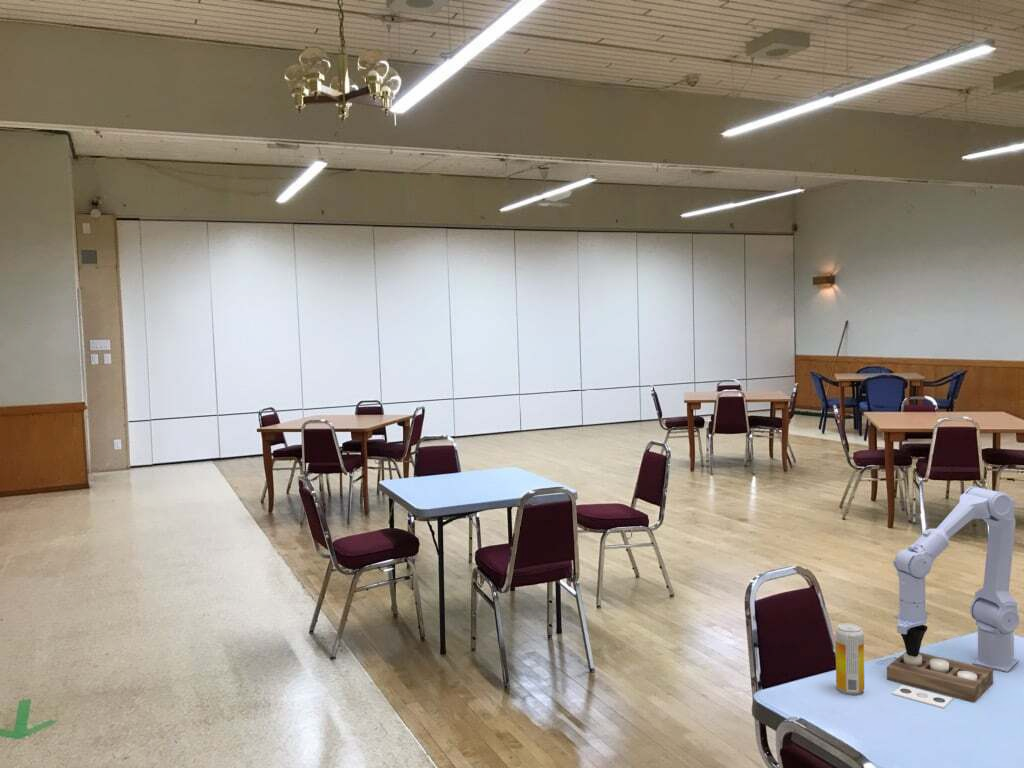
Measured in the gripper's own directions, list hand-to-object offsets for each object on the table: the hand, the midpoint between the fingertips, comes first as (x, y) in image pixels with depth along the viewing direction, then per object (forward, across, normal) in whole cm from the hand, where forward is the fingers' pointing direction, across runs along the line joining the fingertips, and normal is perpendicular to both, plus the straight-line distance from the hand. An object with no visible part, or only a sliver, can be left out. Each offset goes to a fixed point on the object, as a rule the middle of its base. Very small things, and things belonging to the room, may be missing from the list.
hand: (912, 655), depth 196 cm
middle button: (+3, 0, +6) cm, 7 cm away
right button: (+4, 0, +12) cm, 13 cm away
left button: (+3, 0, 0) cm, 3 cm away
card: (+5, +12, +6) cm, 14 cm away
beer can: (+5, +18, -8) cm, 21 cm away
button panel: (+5, 0, +6) cm, 8 cm away
